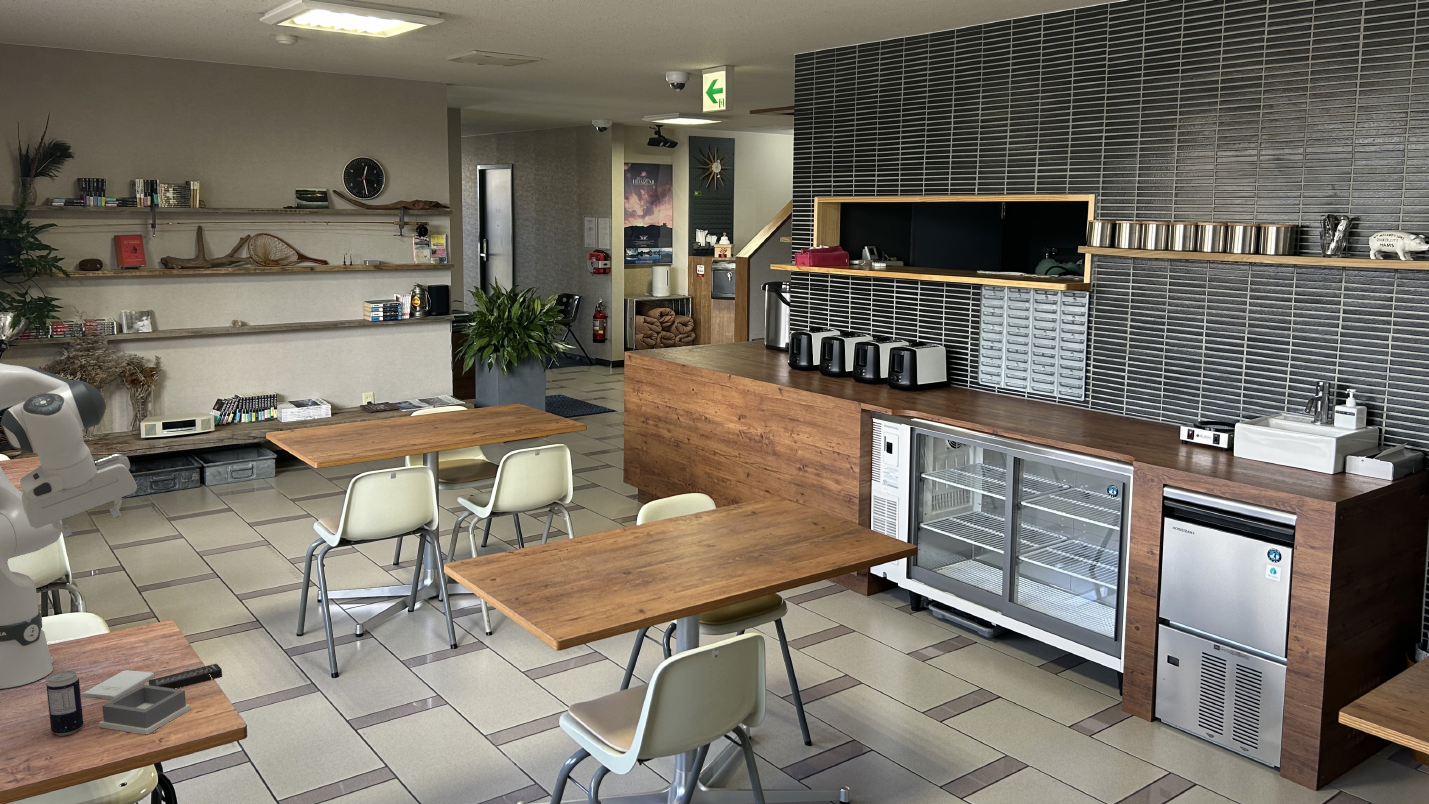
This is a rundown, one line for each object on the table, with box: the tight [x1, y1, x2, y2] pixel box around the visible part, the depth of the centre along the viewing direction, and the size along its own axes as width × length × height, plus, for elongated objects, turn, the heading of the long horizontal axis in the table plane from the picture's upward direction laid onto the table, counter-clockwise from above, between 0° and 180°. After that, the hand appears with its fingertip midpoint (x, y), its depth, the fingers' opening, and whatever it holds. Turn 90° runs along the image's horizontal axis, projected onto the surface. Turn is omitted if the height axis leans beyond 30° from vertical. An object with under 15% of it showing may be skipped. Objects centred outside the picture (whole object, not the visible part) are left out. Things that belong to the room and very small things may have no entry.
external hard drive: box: [81, 669, 155, 701], centre depth 236 cm, size 2×8×12 cm
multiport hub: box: [148, 663, 223, 689], centre depth 238 cm, size 4×14×2 cm, turn 130°
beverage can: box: [45, 670, 84, 736], centre depth 214 cm, size 6×6×12 cm
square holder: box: [98, 683, 192, 735], centre depth 221 cm, size 12×12×4 cm
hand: (92, 525), depth 218 cm, fingers open, 8 cm apart
